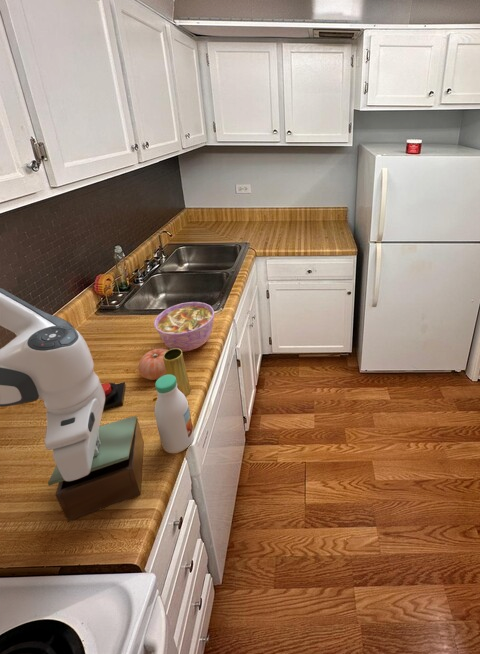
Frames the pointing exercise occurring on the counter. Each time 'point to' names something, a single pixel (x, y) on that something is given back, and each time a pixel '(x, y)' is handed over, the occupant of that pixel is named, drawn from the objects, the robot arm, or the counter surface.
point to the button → (106, 388)
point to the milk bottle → (172, 415)
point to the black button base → (115, 396)
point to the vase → (177, 369)
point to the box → (104, 484)
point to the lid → (109, 446)
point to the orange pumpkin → (153, 364)
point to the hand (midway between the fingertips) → (95, 451)
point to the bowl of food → (185, 325)
